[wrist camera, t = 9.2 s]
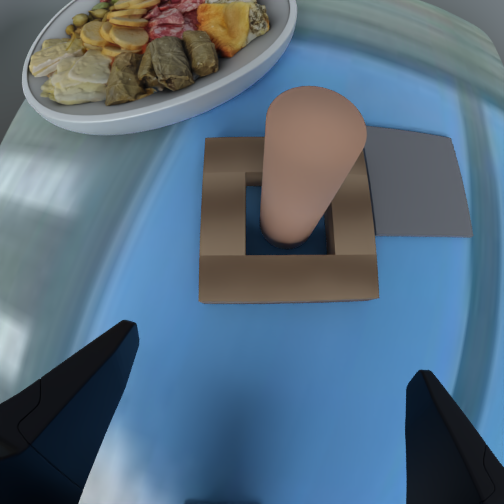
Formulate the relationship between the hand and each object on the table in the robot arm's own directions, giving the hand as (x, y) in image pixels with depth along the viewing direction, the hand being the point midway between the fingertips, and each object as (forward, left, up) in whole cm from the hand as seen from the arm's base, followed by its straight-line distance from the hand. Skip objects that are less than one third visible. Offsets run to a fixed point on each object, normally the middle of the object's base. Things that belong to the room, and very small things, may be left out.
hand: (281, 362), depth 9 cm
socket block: (+9, -2, -14) cm, 16 cm away
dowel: (+9, -2, -14) cm, 16 cm away
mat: (+13, -14, -14) cm, 23 cm away
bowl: (+31, +11, -14) cm, 36 cm away
